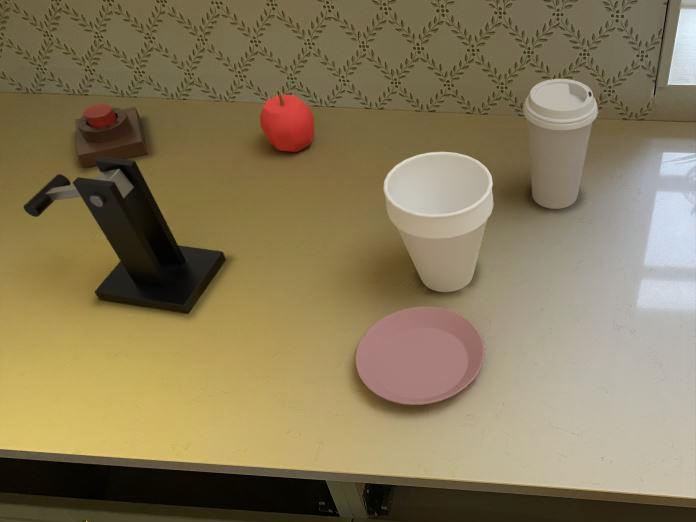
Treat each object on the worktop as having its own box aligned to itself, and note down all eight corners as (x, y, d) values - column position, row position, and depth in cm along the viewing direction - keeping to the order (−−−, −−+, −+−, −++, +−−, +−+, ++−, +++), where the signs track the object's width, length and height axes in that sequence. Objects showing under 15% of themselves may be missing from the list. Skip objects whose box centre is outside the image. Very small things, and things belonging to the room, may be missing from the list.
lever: (34, 220, 74) (17, 202, 72) (66, 189, 78) (50, 172, 76) (113, 209, 70) (97, 190, 68) (143, 177, 74) (129, 158, 72)
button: (88, 118, 100) (82, 107, 98) (116, 112, 101) (110, 101, 99) (89, 130, 98) (83, 120, 96) (118, 124, 99) (112, 114, 97)
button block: (81, 132, 104) (68, 108, 101) (141, 119, 106) (129, 95, 103) (85, 168, 98) (71, 144, 95) (147, 154, 100) (136, 130, 97)
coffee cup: (576, 222, 89) (586, 120, 77) (511, 206, 91) (512, 105, 80) (596, 183, 95) (608, 83, 83) (535, 169, 97) (538, 70, 85)
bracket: (99, 300, 80) (24, 192, 68) (143, 247, 86) (81, 139, 74) (188, 313, 79) (128, 205, 66) (226, 259, 85) (178, 151, 72)
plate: (382, 433, 68) (379, 422, 66) (343, 341, 76) (339, 329, 74) (505, 386, 71) (505, 375, 70) (456, 303, 80) (455, 291, 78)
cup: (477, 316, 78) (472, 225, 67) (383, 296, 80) (364, 204, 70) (506, 252, 85) (506, 160, 75) (419, 235, 88) (407, 143, 77)
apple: (299, 164, 98) (285, 114, 92) (257, 151, 100) (240, 102, 94) (329, 137, 103) (318, 88, 96) (288, 126, 105) (274, 77, 98)
